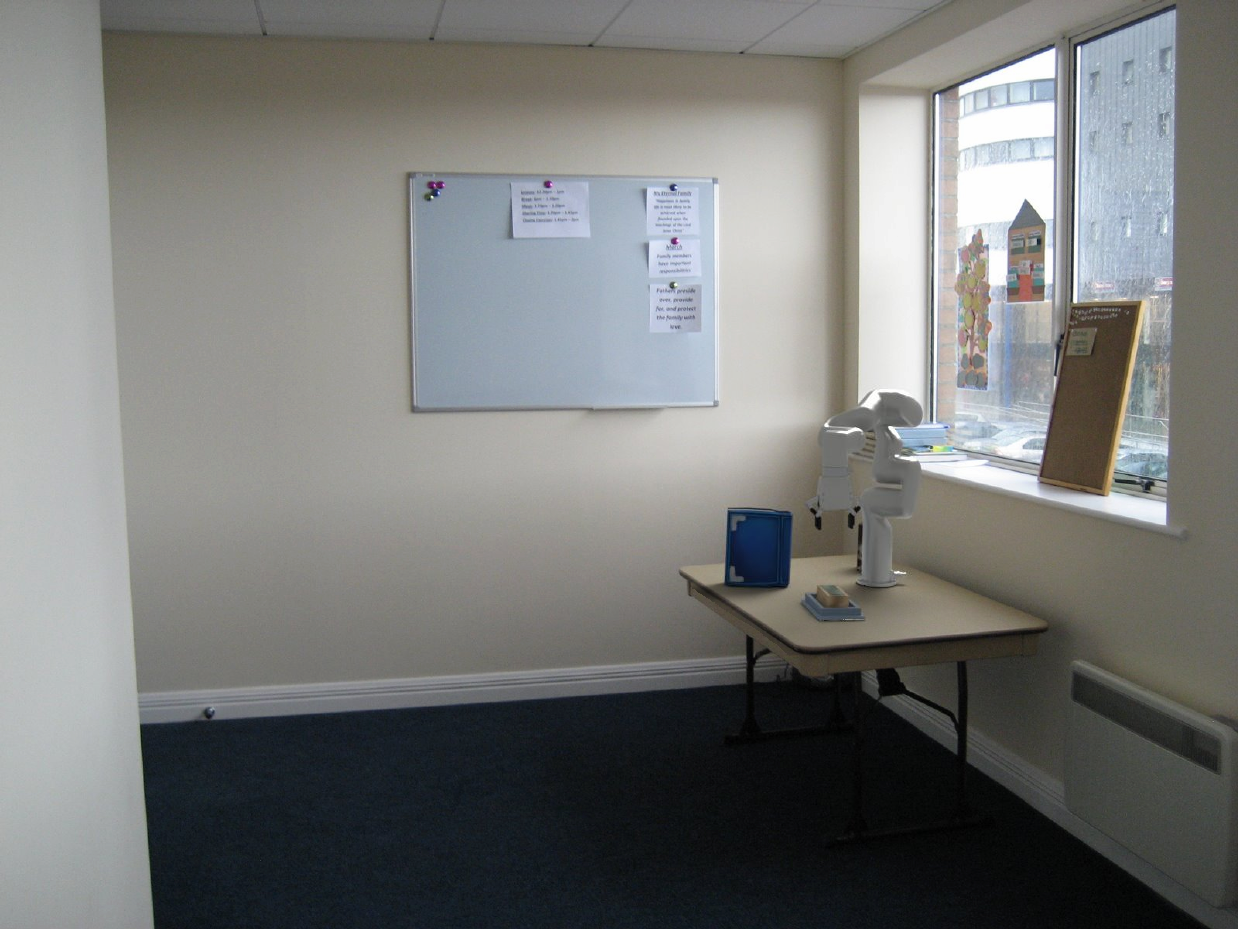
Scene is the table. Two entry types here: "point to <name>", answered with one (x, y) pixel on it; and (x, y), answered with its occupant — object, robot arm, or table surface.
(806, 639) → the table surface
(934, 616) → the table surface
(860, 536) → the coffee box
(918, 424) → the robot arm
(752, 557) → the book
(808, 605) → the blue tray
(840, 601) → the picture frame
